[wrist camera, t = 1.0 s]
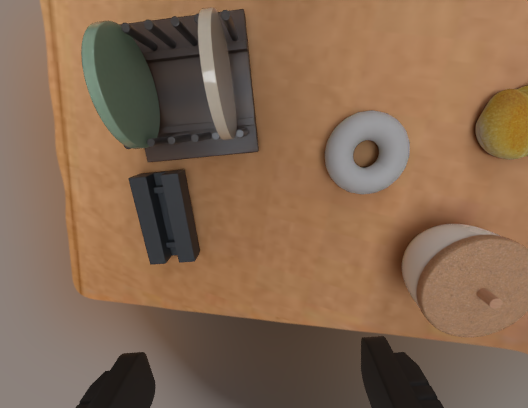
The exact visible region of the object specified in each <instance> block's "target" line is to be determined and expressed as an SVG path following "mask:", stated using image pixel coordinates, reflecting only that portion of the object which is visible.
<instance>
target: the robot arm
mask: <svg viewBox="0 0 528 408" xmlns="http://www.w3.org/2000/svg"><path fill="white" fill-rule="evenodd" d="M361 371H362V378H363V382H364V386H365V390H366V393H367V396H368V398H369V401H370V404H371V407H372V408H444V407H443V406H442V404H441V402H440V401H439V400H438V399H437V396H436V394H435V392H434V391H433V389H432V387H431V386H430V385H429V383H428V381H427V379H426V377H425V376H424V374H423V372H422V371H421V369H420V367H419V366H418V365H417V364H416V363H415V362H414V361H413V360H412V359H411V358H410V357H409V356H408V355H406V354H405V353H404V352H399V353H393V351H392V349H391V347H390V345H389V343H388V341H387V340H386V338H385V337H384V336H378V337H364V338H362V340H361ZM154 394H155V380H154V377H153V374H152V371H151V368H150V365H149V362H148V359H147V356H146V354H145V353H144V352H138V353H124V354H122V355H120V356H119V358H118V359H117V361H116V362H115V364H114V366H113V367H112V368H111V370H110V371H105V372H104V373H103V374H102V375H101V376H100V377H99V378H98V379H97V380H96V381H95V382H94V383H93V384H92V385H91V386H90V387H89V389H88V390H87V392H86V393H85V395H84V396H83V398H82V399H81V401H80V404H79V405H77V406H76V408H150V406H151V404H152V401H153V398H154Z"/></svg>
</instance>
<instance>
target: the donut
mask: <svg viewBox="0 0 528 408" xmlns="http://www.w3.org/2000/svg"><path fill="white" fill-rule="evenodd" d="M364 140H371V141H374V142H375V143H376V144H377V145H378V148H379V156H378V159H377V160H376V162H375V163H374V164H372V165H371V166H369V167H365V168H363V167H359V166H357V165H356V164H355V162H354V160H353V152H354V149H355V148H356V146H357V145H358V144H359V143H360V142H362V141H364ZM409 146H410V142H409V139H408V136H407V133H406V130H405V129H404V127H403V126H402V125H401V123H400V122H399V121H398V120H397V119H395V118H394V117H392V116H390V115H389V114H387V113H384V112H378V111H373V110H371V111H364V112H358V113H356V114H354V115H352V116H350V117H348V118H346V119H344V120H343V121H342V122H341V123H340V124H339V125H338V126H337V127H336V128H335V129H334V130H333V132H332V134H331V135H330V137H329V139H328V141H327V145H326V149H325V165H326V168H327V170H328V173H329V175H330V177H331V178H332V180H333V181H334V182H335V183H336V184H337V185H338V186H339V187H341V188H343V189H345V190H346V191H348V192H352V193H357V194H370V193H376V192H378V191H380V190H383V189H385V188H387V187H388V186H389V185H391V184H392V183H393V182H394V181H396V180H397V179H398V178H399V176H400V175H401V173H402V172H403V170H404V169H405V167H406V164H407V161H408V158H409Z"/></svg>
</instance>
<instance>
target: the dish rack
mask: <svg viewBox="0 0 528 408" xmlns="http://www.w3.org/2000/svg"><path fill="white" fill-rule="evenodd" d="M218 14H219V16H220V19H221V22H222V26H223V29H224V33H225V37H226V42H227V46H228V51H229V57H230V62H231V68H232V75H233V82H234V90H235V100H236V114H237V130H236V137H235V139H232V140H222V139H221V138H220V136H219V134H218V132H217V130H216V128H215V125H214V122H213V119H212V116H211V112H210V109H209V105H208V101H207V96H206V92H205V87H204V81H203V76H202V70H201V62H200V54H199V44H198V17H199V14H196V15H192V16H184V17H176V16H174V17H172V18H168V19H160V20H152V21H151V20H146V21H144V22H136V23H123V24H120V26H121V29H122V31H123V32H124V33H126V34H128V35H129V36H131V37H132V38H133V39H134V41H135V42H136V43H137V45H138V47H139V48H140V50H141V52H142V54H143V56H144V58H145V60H146V62H147V64H148V67H149V69H150V72H151V74H152V77H153V80H154V84H155V87H156V91H157V96H158V101H159V109H160V127H159V133H158V136H157V138H150V139H148V140H147V144H148V145H149V146H150V147H148V148H145V152H146V157H147V161H148V162H157V161H167V160H178V159H188V158H198V157H209V156H219V155H229V154H240V153H250V152H258V151H259V147H258V137H257V128H256V118H255V108H254V98H253V88H252V79H251V69H250V59H249V49H248V39H247V29H246V20H245V13H244V9H240V10H232V11H227V10H223V11H222V12H218ZM124 147H125V148H126V149H131V148H129V147H127V146H125V145H124Z"/></svg>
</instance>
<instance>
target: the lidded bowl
mask: <svg viewBox="0 0 528 408" xmlns="http://www.w3.org/2000/svg"><path fill="white" fill-rule="evenodd" d="M402 275H403V279H404V282H405V284H406V287H407V289H408V291H409V293H410V295H411V297H412V298H413V299H414V301H415V302H416V304H417V305H418V306H419V308H420V310H421V311H422V313H423V314H424V316H425V317H426V318H427V320H428V321H429V322H430V323H431V324H432V325H433V326H434V327H436V328H437V329H439V330H440V331H443V332H445V333H447V334H450V335H454V336H459V337H479V336H485V335H489V334H492V333H495V332H498V331H500V330H502V329H504V328H506V327H508V326H510V325H511V324H513V323H515V322H516V321H517V320H518V319H520V318H521V317H522V316H523V315H524V314H525V313H526V312H527V311H528V249H527V248H526V247H525V246H523V245H521V244H519V243H517V242H515V241H513V240H511V239H509V238H505V237H502V236H500V235H498V234H495V233H493V232H491V231H488V230H485V229H482V228H478V227H475V226H470V225H465V224H444V225H439V226H435V227H431V228H429V229H427V230H425V231H423V232H422V233H420V234H419V235H417V236H416V237H415V238H414V239H413V240H412V241H411V242H410V244H409V245H408V246H407V248H406V250H405V252H404V255H403V260H402Z"/></svg>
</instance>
